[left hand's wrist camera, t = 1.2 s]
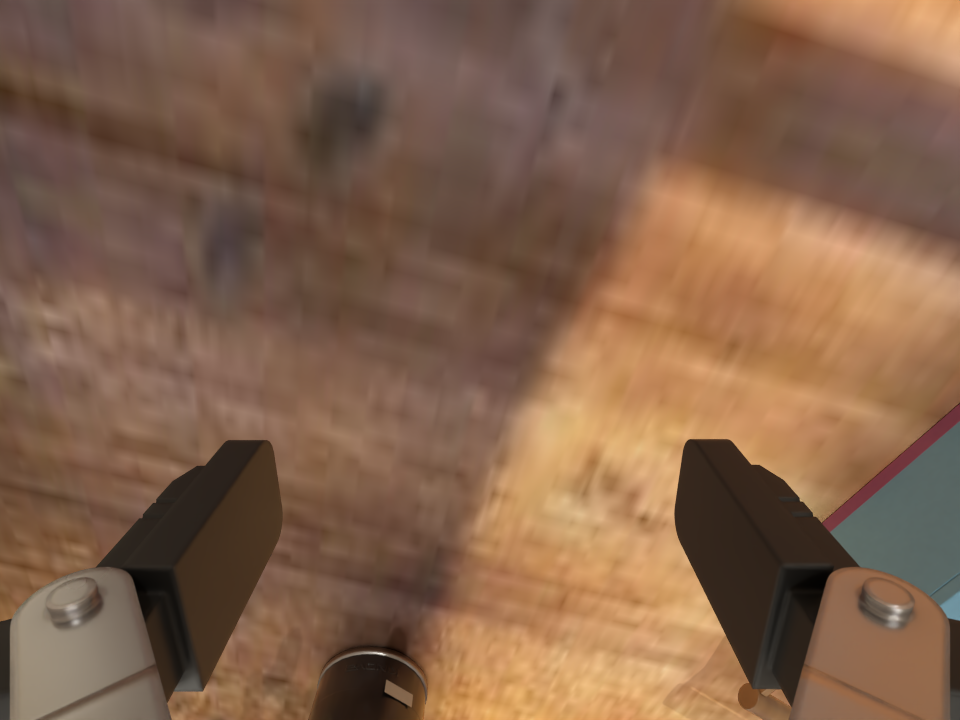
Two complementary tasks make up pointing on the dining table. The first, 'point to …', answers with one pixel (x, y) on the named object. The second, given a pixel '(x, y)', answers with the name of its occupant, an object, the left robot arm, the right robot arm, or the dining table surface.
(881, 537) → the cabinet
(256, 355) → the dining table surface
